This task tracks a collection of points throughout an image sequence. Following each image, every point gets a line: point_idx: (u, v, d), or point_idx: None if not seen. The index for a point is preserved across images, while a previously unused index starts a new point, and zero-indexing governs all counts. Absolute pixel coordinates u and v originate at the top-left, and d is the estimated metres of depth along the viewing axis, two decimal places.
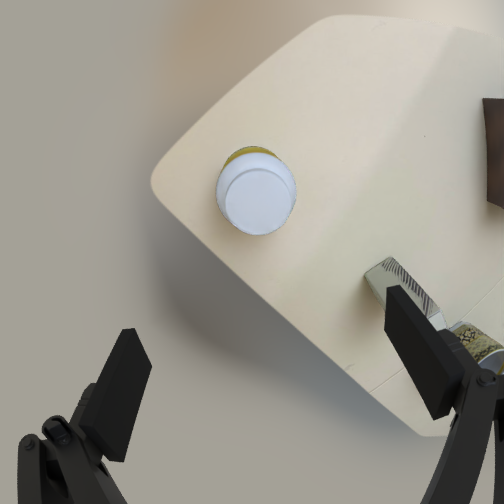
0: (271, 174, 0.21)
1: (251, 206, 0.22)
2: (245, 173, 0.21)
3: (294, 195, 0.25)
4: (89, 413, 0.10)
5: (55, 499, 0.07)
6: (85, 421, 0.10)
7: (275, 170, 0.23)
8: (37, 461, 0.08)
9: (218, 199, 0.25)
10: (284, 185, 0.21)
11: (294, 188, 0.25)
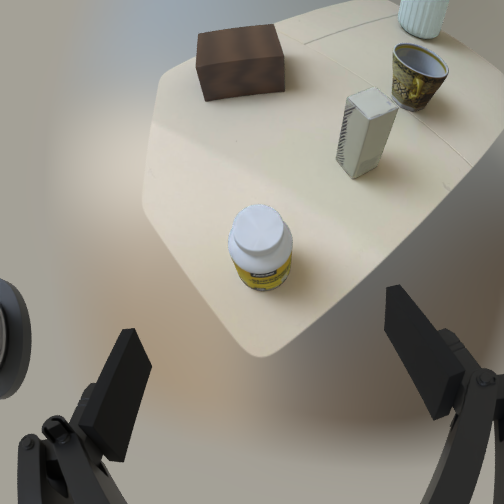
0: (235, 217, 0.29)
1: (259, 231, 0.28)
2: (233, 235, 0.29)
3: None
4: (89, 413, 0.10)
5: (55, 499, 0.07)
6: (85, 421, 0.10)
7: None
8: (37, 461, 0.08)
9: (260, 268, 0.30)
10: (245, 208, 0.29)
11: None
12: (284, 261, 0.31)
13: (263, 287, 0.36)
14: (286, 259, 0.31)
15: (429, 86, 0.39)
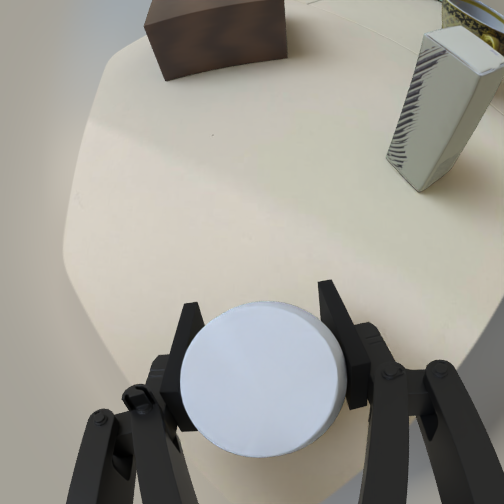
0: (188, 349, 0.09)
1: (262, 398, 0.08)
2: (185, 405, 0.09)
3: (268, 304, 0.12)
4: (170, 380, 0.11)
5: (115, 482, 0.08)
6: (167, 388, 0.11)
7: None
8: (106, 440, 0.09)
9: None
10: (214, 321, 0.09)
11: (254, 304, 0.12)
12: (328, 427, 0.11)
13: None
14: (332, 421, 0.11)
15: (500, 49, 0.20)
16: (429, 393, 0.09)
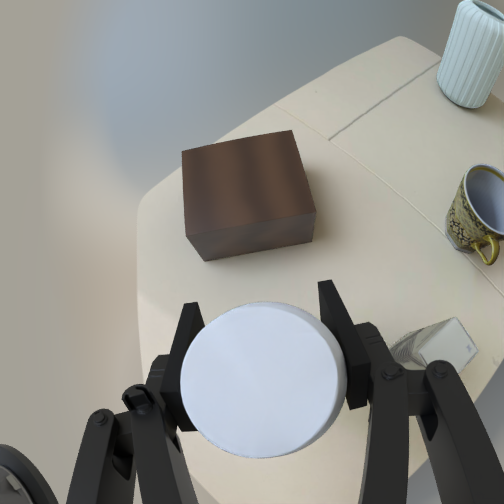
0: (188, 350, 0.09)
1: (262, 399, 0.08)
2: (186, 406, 0.09)
3: (268, 304, 0.12)
4: (170, 380, 0.11)
5: (115, 482, 0.08)
6: (167, 388, 0.11)
7: None
8: (106, 440, 0.09)
9: None
10: (214, 322, 0.09)
11: (254, 305, 0.12)
12: (328, 427, 0.11)
13: None
14: (333, 421, 0.11)
15: (500, 240, 0.29)
16: (429, 393, 0.09)
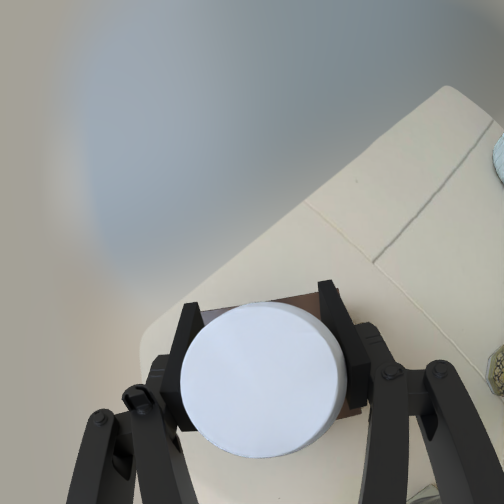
0: (188, 350, 0.09)
1: (262, 399, 0.08)
2: (186, 406, 0.09)
3: (268, 304, 0.12)
4: (170, 380, 0.11)
5: (115, 482, 0.08)
6: (167, 388, 0.11)
7: None
8: (106, 440, 0.09)
9: None
10: (214, 321, 0.09)
11: (254, 304, 0.12)
12: (328, 427, 0.11)
13: None
14: (333, 421, 0.11)
15: None
16: (429, 393, 0.09)
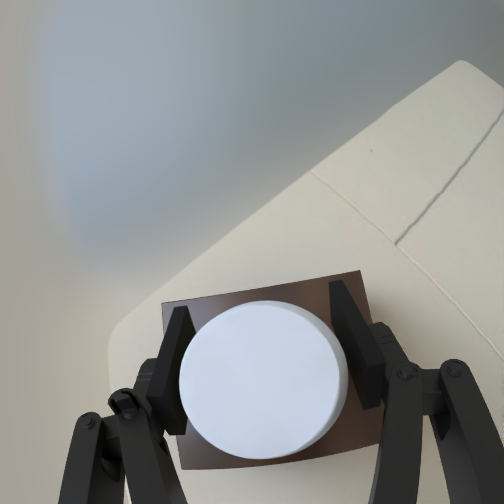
0: (187, 349, 0.09)
1: (262, 399, 0.08)
2: (185, 406, 0.08)
3: (268, 303, 0.12)
4: (156, 384, 0.11)
5: (104, 484, 0.08)
6: (153, 392, 0.11)
7: None
8: (94, 442, 0.09)
9: None
10: (214, 320, 0.09)
11: (254, 303, 0.12)
12: (329, 428, 0.10)
13: None
14: (333, 422, 0.11)
15: None
16: (444, 392, 0.09)
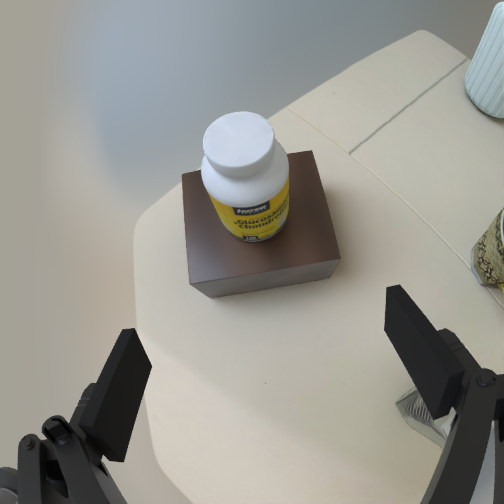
0: (207, 129, 0.20)
1: (240, 142, 0.19)
2: (204, 151, 0.20)
3: None
4: (89, 413, 0.10)
5: (55, 499, 0.07)
6: (85, 421, 0.10)
7: None
8: (37, 461, 0.08)
9: (246, 198, 0.21)
10: (220, 118, 0.20)
11: None
12: (279, 188, 0.22)
13: (255, 233, 0.27)
14: (281, 185, 0.22)
15: None
16: None
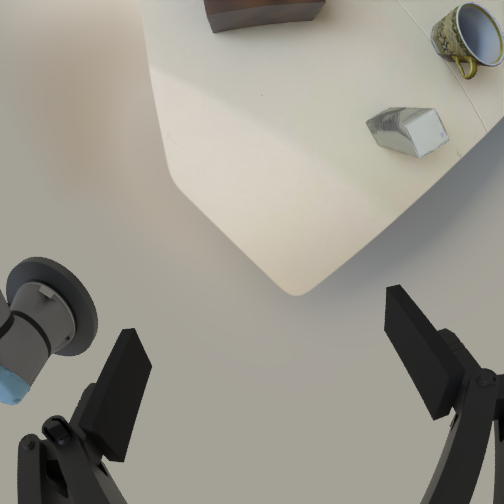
0: None
1: None
2: None
3: None
4: (89, 413, 0.10)
5: (55, 499, 0.07)
6: (85, 421, 0.10)
7: None
8: (37, 461, 0.08)
9: None
10: None
11: None
12: None
13: None
14: None
15: (479, 64, 0.30)
16: None
